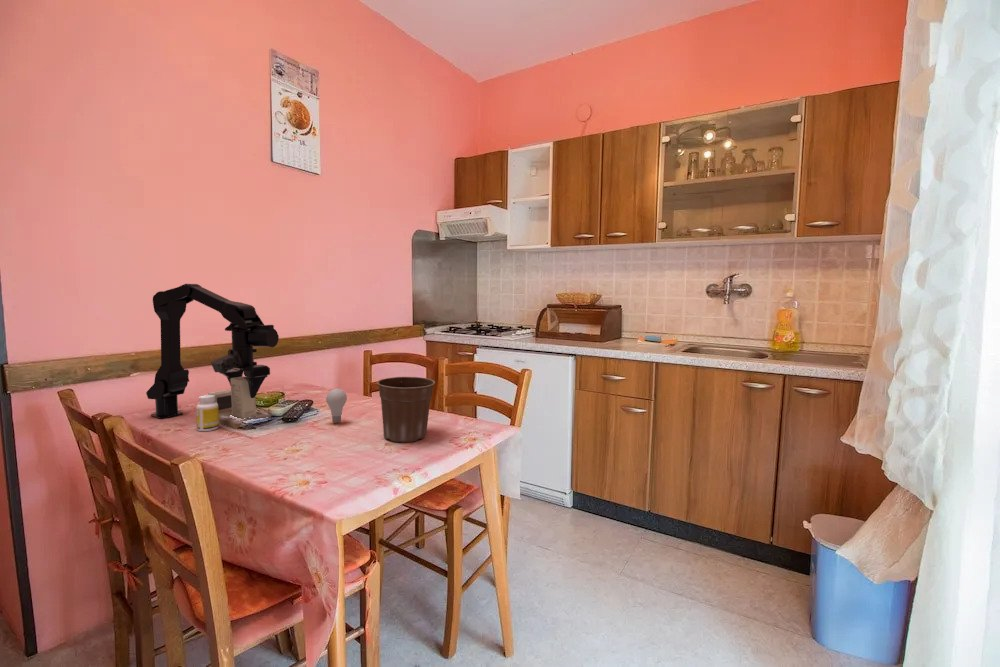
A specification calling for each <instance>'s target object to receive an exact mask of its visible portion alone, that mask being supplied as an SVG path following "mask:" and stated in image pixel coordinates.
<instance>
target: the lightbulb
mask: <svg viewBox="0 0 1000 667" xmlns="http://www.w3.org/2000/svg"><path fill="white" fill-rule="evenodd" d="M347 396H348V395H347V394H346V392H345V390H343V389H341V388H333V389H331V390H329V391H328V392H327V394H326V396H325V401H326V404H327V405H328V407H329V409H330V415H331V420H332V423H335V424H339V423H340V422H341V421H342V414H343V409H344V407H345V405H346V403H347V400H348V397H347Z"/></svg>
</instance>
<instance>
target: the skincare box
mask: <svg viewBox="0 0 1000 667" xmlns="http://www.w3.org/2000/svg"><path fill="white" fill-rule="evenodd" d="M244 377H245V375H242V377H235V378H231V386H230V391H231V399H232V416H234V417H237V418H241V419H244V418H249V417H255V416H256V411H257V406H256V405H257V404H256V401H257V400H256V397H255V398H251V397H250V391H249V384H248V381H247V380H246V379H244Z"/></svg>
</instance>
